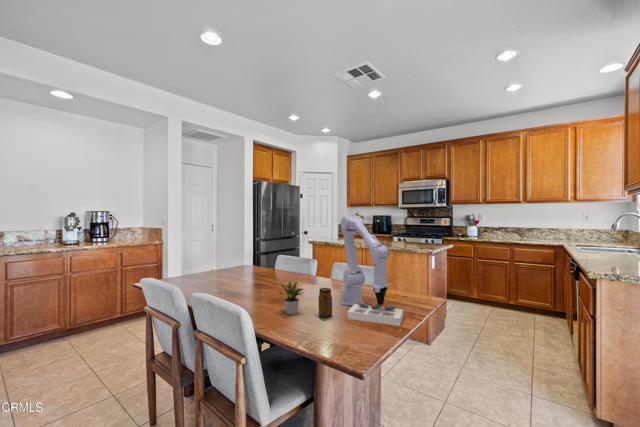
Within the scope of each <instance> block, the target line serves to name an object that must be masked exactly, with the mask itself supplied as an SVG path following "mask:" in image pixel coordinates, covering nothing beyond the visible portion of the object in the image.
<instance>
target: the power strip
mask: <svg viewBox="0 0 640 427" xmlns="http://www.w3.org/2000/svg"><path fill="white" fill-rule="evenodd" d="M371 306H372V305H368V307H367V308H365V307H362V306H359V305H358V304H354V305H353V306H351V307H350V308H349V310H347V320H352V321H358V322H359V321H360V322H366V323H374V324H381V325H390V326H395V327H396V326H397V327H401V324H402V321H403V319H404V309H402V308H395V309H393V310H391V311H389V310H385V307H386V306H385V307H384V306H383V307H382V306H381V308H377V309H375V308H373V309H372V308H371Z"/></svg>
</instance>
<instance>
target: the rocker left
mask: <svg viewBox="0 0 640 427" xmlns="http://www.w3.org/2000/svg"><path fill="white" fill-rule="evenodd" d="M358 305H359V306H362V307H365V308H367V307H368V306H370V305H369V303H367V302H365V301H364V302H361V301H360V302H359V304H358Z"/></svg>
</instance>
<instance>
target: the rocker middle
mask: <svg viewBox="0 0 640 427" xmlns="http://www.w3.org/2000/svg"><path fill="white" fill-rule="evenodd" d="M370 306H371V308H372V309H373V308H375V309H377V308H381V307H382V306H383V305H378V303H373V304H371V305H370Z"/></svg>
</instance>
